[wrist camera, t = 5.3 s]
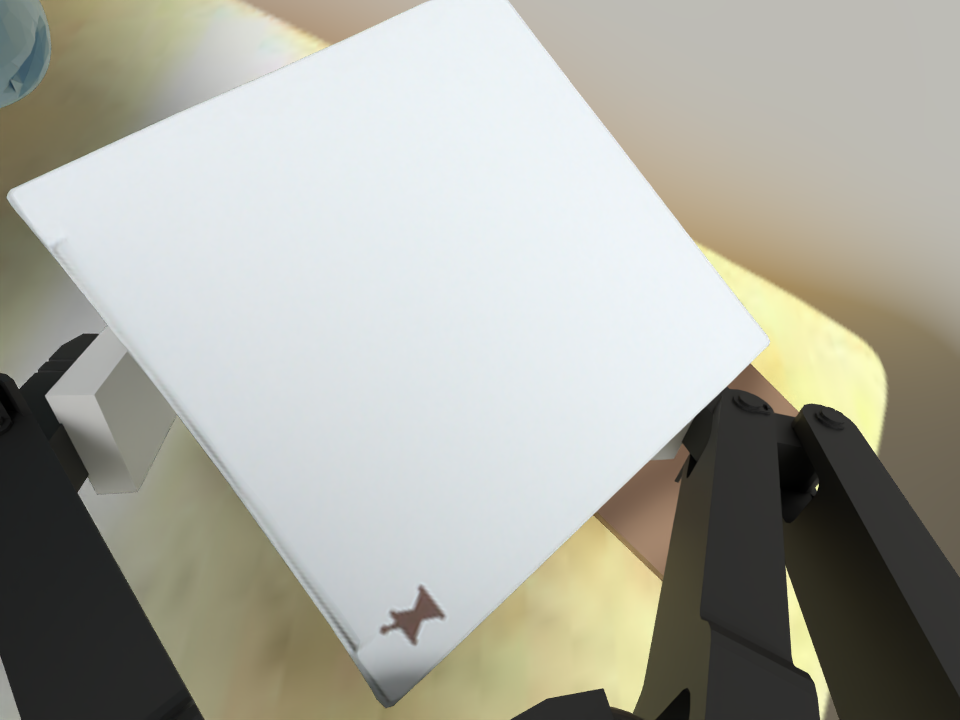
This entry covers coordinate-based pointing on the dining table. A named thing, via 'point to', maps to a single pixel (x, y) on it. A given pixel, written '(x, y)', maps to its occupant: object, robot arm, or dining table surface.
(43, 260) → the dining table surface
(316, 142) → the supplement box
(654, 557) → the walnut board
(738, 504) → the robot arm
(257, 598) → the dining table surface
